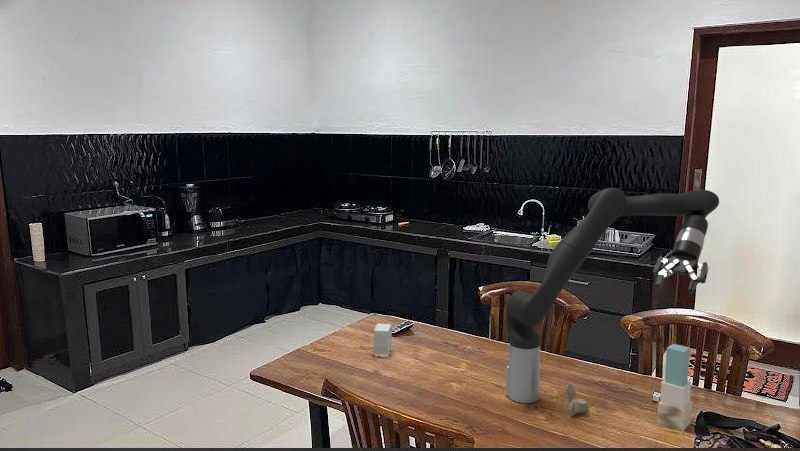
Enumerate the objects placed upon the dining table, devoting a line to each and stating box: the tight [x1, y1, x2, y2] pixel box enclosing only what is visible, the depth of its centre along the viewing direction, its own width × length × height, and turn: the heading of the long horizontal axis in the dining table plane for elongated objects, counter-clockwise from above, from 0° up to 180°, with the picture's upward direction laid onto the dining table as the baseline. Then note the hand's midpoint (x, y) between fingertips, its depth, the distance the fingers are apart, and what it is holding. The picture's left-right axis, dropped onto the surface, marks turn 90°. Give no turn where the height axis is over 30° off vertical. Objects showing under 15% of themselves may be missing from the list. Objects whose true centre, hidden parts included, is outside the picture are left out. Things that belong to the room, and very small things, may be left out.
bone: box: [565, 382, 590, 417], centre depth 165 cm, size 9×6×10 cm
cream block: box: [659, 379, 692, 409], centre depth 158 cm, size 6×6×6 cm
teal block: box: [664, 343, 691, 387], centre depth 157 cm, size 4×4×10 cm
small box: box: [373, 323, 393, 354], centre depth 212 cm, size 8×6×10 cm
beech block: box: [656, 400, 693, 432], centre depth 159 cm, size 7×7×6 cm
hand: (674, 290), depth 167 cm, fingers open, 8 cm apart
